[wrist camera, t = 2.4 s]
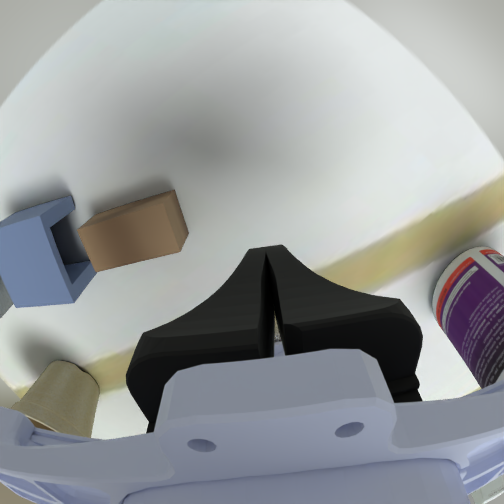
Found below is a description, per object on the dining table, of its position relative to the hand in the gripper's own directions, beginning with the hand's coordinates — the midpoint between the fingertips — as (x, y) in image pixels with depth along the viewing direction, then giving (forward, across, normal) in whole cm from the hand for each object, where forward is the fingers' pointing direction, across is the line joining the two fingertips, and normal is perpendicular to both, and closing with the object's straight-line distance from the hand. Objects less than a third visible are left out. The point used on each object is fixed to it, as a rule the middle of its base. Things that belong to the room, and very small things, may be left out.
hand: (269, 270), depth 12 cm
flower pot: (+9, +22, +15) cm, 28 cm away
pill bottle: (+9, -16, +9) cm, 21 cm away
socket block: (+8, +16, 0) cm, 18 cm away
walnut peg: (+9, +8, 0) cm, 12 cm away
